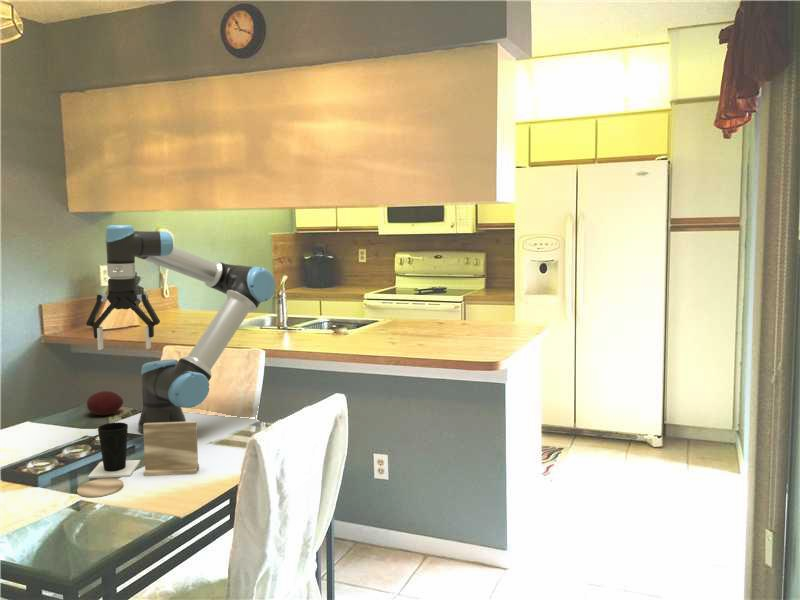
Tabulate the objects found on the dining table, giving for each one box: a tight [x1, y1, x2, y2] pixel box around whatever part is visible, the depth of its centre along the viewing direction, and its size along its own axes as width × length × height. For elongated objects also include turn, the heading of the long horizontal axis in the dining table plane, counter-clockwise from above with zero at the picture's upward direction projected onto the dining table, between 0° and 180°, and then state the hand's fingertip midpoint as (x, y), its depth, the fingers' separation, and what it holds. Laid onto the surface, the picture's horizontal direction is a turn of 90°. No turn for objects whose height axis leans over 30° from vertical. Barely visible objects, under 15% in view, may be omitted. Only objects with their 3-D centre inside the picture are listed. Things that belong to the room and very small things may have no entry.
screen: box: [143, 420, 200, 477], centre depth 183 cm, size 5×14×14 cm, turn 98°
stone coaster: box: [87, 459, 141, 479], centre depth 184 cm, size 11×11×1 cm
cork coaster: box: [76, 477, 124, 498], centre depth 171 cm, size 11×11×1 cm
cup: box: [97, 422, 129, 472], centre depth 183 cm, size 8×8×12 cm
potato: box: [86, 390, 124, 417], centre depth 236 cm, size 12×11×8 cm
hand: (124, 348), depth 195 cm, fingers open, 13 cm apart
